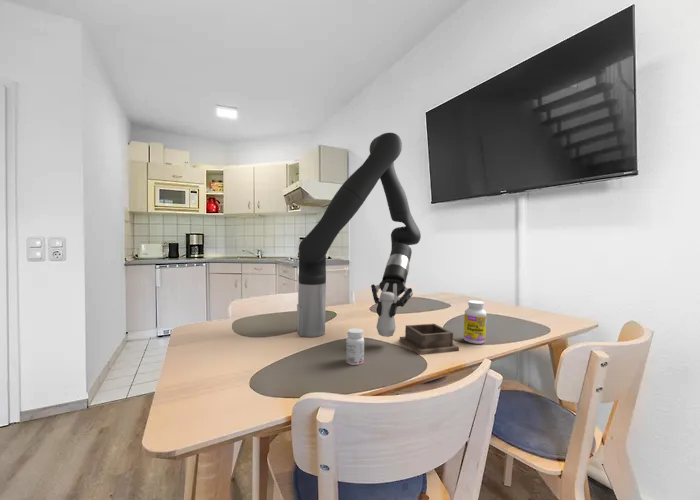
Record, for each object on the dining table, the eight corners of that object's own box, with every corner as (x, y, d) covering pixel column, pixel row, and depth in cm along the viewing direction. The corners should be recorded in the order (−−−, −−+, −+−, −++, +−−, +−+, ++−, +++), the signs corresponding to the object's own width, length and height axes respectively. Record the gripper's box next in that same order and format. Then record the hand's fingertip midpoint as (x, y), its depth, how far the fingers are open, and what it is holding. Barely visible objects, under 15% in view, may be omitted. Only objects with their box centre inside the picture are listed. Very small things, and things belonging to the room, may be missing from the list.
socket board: (419, 354, 90) (420, 337, 90) (399, 339, 103) (400, 324, 103) (458, 350, 94) (459, 333, 94) (435, 337, 107) (435, 322, 106)
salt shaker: (394, 338, 93) (396, 294, 93) (375, 336, 94) (376, 293, 94) (395, 332, 99) (397, 291, 98) (377, 331, 100) (379, 290, 100)
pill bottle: (359, 357, 87) (360, 327, 87) (366, 364, 83) (367, 332, 83) (343, 359, 86) (344, 328, 85) (349, 366, 81) (350, 333, 81)
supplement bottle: (462, 342, 102) (464, 302, 101) (463, 336, 108) (465, 299, 107) (485, 345, 99) (487, 304, 98) (485, 339, 105) (486, 300, 105)
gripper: (374, 262, 105) (360, 305, 95) (416, 264, 100) (406, 311, 89) (378, 276, 110) (365, 319, 100) (418, 279, 105) (409, 325, 94)
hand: (385, 315), depth 95 cm, fingers closed on salt shaker, 3 cm apart
